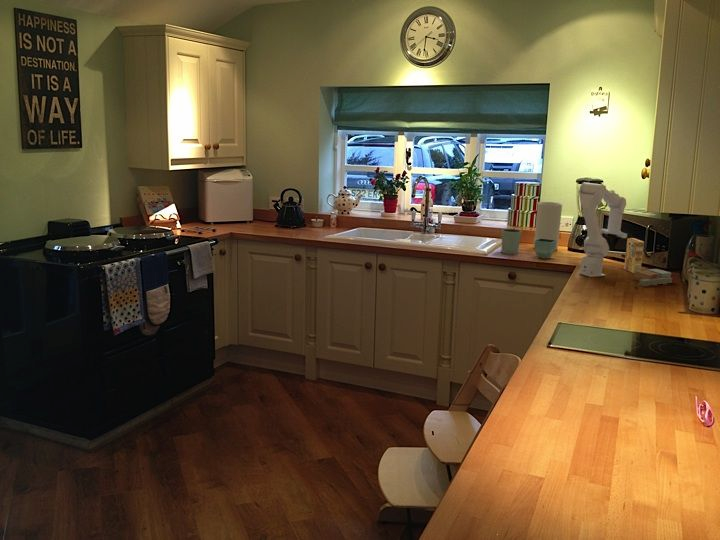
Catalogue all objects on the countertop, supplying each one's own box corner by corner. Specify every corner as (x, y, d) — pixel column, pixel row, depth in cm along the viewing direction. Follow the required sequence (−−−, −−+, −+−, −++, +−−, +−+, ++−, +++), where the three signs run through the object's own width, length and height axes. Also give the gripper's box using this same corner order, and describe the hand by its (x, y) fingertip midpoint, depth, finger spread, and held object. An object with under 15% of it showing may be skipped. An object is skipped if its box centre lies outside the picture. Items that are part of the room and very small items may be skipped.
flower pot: (532, 257, 355) (534, 240, 353) (538, 255, 363) (539, 238, 361) (549, 260, 351) (551, 242, 349) (554, 257, 358) (556, 240, 356)
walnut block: (647, 284, 308) (649, 274, 307) (633, 280, 315) (634, 270, 314) (657, 283, 311) (658, 274, 310) (643, 279, 318) (644, 270, 317)
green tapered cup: (522, 252, 367) (524, 230, 364) (515, 255, 358) (517, 232, 356) (503, 250, 372) (505, 227, 369) (496, 252, 364) (498, 230, 361)
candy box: (640, 273, 329) (645, 241, 326) (632, 273, 329) (636, 241, 325) (631, 269, 338) (635, 238, 335) (623, 269, 337) (627, 237, 334)
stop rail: (643, 286, 303) (644, 280, 303) (638, 285, 305) (639, 279, 305) (671, 283, 311) (672, 278, 311) (667, 282, 313) (668, 276, 313)
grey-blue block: (660, 283, 312) (662, 273, 311) (646, 279, 319) (647, 269, 318) (669, 282, 315) (671, 272, 314) (655, 278, 322) (656, 268, 321)
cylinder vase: (532, 246, 387) (536, 201, 381) (555, 247, 386) (560, 202, 380) (535, 250, 375) (540, 204, 369) (559, 252, 373) (564, 205, 368)
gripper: (633, 224, 322) (629, 253, 325) (609, 219, 335) (605, 247, 338) (622, 224, 319) (618, 253, 322) (598, 219, 332) (595, 247, 335)
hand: (611, 250), depth 330 cm, fingers closed
